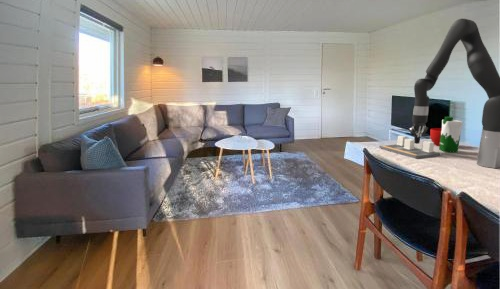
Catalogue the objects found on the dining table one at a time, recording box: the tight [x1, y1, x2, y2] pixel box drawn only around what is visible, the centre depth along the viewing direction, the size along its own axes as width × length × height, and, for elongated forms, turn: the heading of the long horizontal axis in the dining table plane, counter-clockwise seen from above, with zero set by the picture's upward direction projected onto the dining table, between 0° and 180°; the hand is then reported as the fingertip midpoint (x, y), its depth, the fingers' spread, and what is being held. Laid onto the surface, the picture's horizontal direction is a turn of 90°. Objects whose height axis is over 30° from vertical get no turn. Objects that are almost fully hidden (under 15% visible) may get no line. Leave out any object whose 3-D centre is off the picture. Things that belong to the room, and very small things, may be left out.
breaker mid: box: [403, 138, 415, 150], centre depth 169 cm, size 4×4×6 cm
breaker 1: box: [395, 135, 408, 146], centre depth 179 cm, size 4×4×6 cm
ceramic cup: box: [429, 127, 442, 147], centre depth 185 cm, size 13×17×10 cm
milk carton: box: [438, 116, 464, 154], centre depth 169 cm, size 9×9×20 cm
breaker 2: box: [422, 140, 435, 153], centre depth 162 cm, size 4×4×6 cm
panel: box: [379, 143, 442, 160], centre depth 170 cm, size 26×18×2 cm
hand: (416, 143), depth 171 cm, fingers closed
